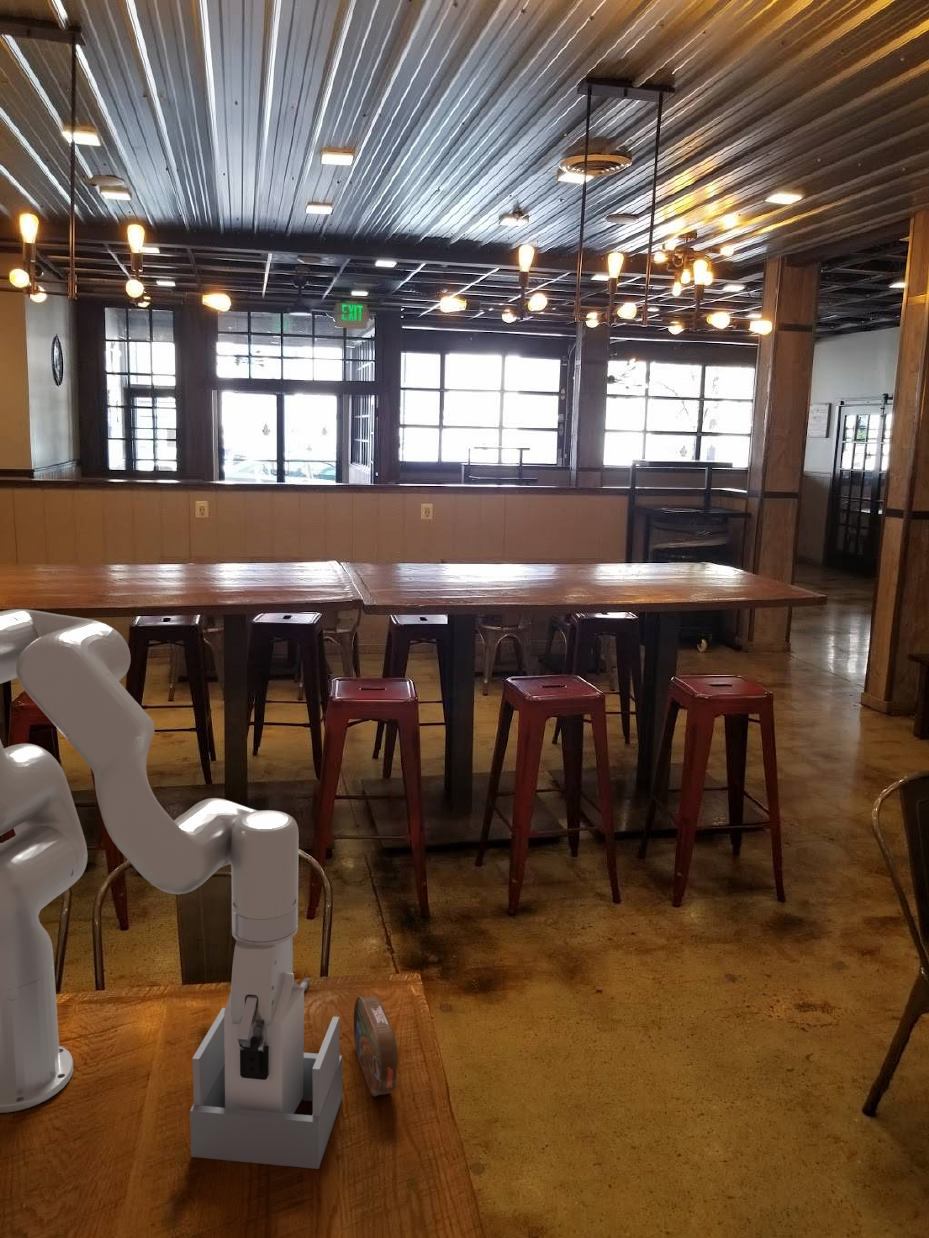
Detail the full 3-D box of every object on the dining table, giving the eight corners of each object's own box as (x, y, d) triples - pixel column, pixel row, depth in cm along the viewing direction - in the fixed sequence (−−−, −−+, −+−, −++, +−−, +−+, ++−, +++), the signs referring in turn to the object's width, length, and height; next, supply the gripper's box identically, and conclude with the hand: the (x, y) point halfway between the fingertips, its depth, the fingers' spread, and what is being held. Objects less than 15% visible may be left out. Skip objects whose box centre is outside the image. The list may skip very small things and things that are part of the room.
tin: (351, 1039, 133) (351, 984, 132) (373, 1035, 134) (374, 981, 133) (376, 1111, 119) (376, 1050, 118) (400, 1106, 120) (401, 1046, 119)
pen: (311, 984, 147) (311, 975, 146) (276, 1039, 133) (276, 1030, 133) (305, 983, 147) (305, 974, 147) (269, 1038, 133) (269, 1029, 133)
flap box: (191, 1156, 111) (188, 1063, 109) (226, 1087, 123) (224, 1002, 120) (318, 1168, 110) (318, 1075, 107) (342, 1098, 121) (341, 1012, 119)
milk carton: (281, 1138, 112) (282, 990, 108) (224, 1127, 113) (223, 981, 110) (303, 1098, 119) (304, 957, 115) (249, 1088, 120) (249, 949, 116)
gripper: (256, 881, 120) (257, 1009, 123) (206, 955, 103) (208, 1100, 106) (315, 886, 119) (314, 1014, 123) (274, 961, 102) (274, 1107, 106)
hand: (265, 1053), depth 114 cm, fingers closed on milk carton, 7 cm apart
